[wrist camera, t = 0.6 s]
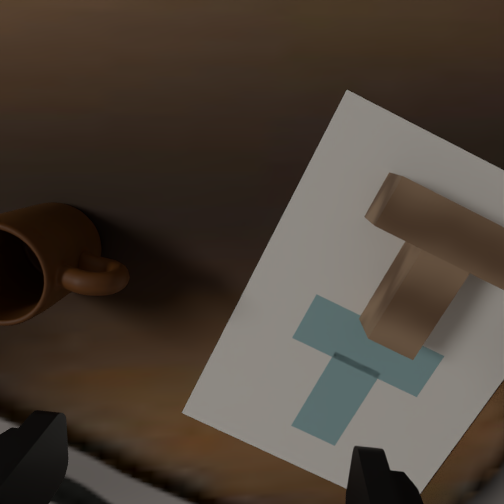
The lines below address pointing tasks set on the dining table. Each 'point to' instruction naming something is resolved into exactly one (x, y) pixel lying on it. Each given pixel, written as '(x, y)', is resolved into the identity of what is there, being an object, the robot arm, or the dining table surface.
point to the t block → (426, 261)
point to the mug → (51, 260)
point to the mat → (355, 315)
